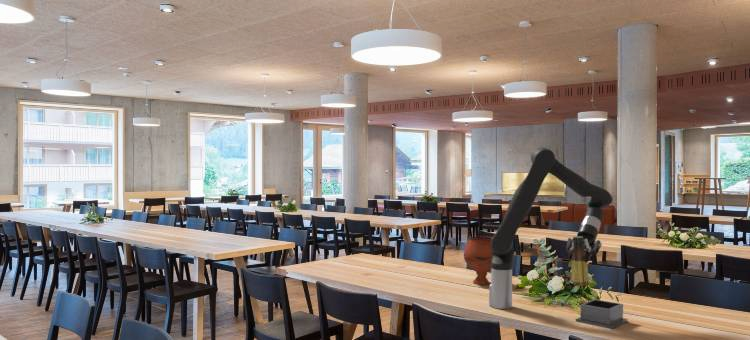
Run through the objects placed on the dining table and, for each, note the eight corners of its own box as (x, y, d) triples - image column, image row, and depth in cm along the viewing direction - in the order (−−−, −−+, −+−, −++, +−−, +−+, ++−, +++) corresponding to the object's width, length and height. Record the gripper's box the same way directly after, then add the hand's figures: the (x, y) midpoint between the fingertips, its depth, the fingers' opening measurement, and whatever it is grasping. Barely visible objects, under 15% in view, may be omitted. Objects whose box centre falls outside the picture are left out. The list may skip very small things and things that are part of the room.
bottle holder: (575, 321, 226) (575, 304, 226) (591, 314, 237) (591, 298, 237) (613, 328, 216) (613, 310, 216) (627, 321, 226) (627, 304, 226)
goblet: (497, 279, 311) (497, 235, 311) (501, 287, 292) (501, 239, 292) (462, 279, 313) (462, 235, 313) (464, 286, 294) (464, 239, 294)
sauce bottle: (584, 283, 232) (583, 235, 232) (590, 286, 226) (590, 237, 226) (569, 283, 232) (568, 236, 232) (575, 286, 226) (574, 237, 225)
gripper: (570, 222, 239) (557, 253, 231) (603, 224, 229) (592, 256, 221) (575, 233, 243) (563, 264, 234) (608, 235, 233) (597, 267, 224)
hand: (577, 260), depth 228 cm, fingers closed on sauce bottle, 6 cm apart
